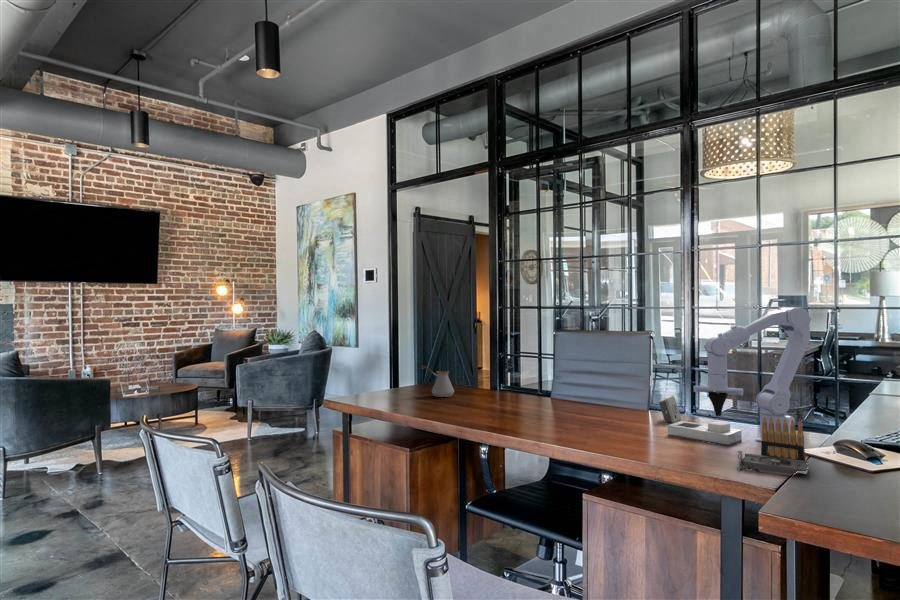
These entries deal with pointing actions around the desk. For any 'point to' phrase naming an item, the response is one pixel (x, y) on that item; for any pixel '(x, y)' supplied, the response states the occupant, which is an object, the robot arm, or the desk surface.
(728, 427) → the plug
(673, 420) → the electrical switch
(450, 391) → the coffee pot
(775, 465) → the graphics card
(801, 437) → the ammunition clip
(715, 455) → the desk surface
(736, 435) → the socket plate
